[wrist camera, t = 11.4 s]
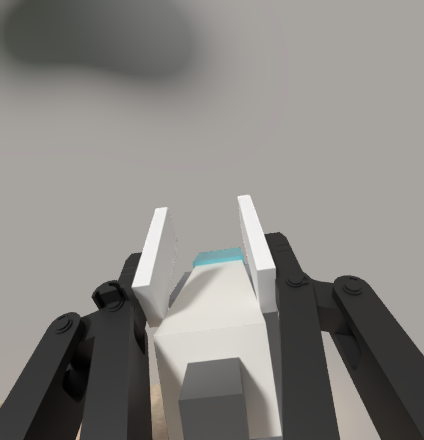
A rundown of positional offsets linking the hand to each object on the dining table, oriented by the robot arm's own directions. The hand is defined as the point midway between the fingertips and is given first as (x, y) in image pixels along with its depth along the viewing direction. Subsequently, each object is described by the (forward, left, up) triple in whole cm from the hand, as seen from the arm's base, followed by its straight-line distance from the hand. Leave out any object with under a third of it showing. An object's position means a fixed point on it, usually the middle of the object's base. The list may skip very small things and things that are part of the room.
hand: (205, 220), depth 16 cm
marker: (0, +3, -9) cm, 9 cm away
